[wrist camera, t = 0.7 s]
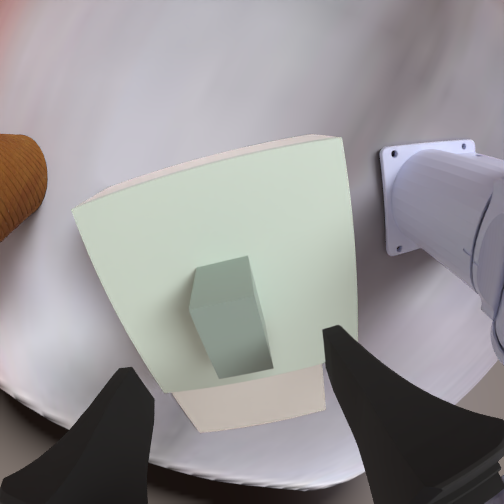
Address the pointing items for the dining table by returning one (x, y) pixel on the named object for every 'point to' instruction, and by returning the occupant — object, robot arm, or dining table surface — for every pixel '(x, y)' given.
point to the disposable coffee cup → (20, 180)
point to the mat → (255, 400)
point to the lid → (230, 263)
